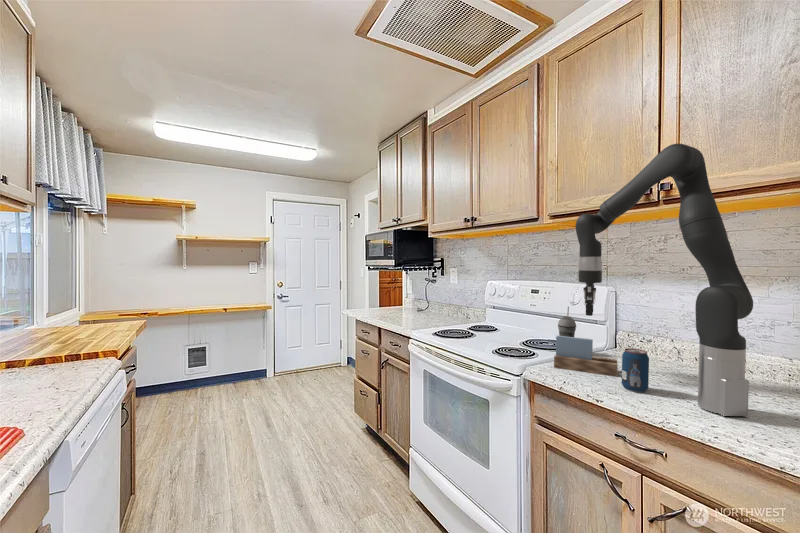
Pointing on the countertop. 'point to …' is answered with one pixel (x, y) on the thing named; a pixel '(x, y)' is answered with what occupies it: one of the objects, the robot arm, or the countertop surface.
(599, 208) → the robot arm
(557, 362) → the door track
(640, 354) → the soda can
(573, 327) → the beverage cup
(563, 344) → the door panel
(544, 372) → the countertop surface
